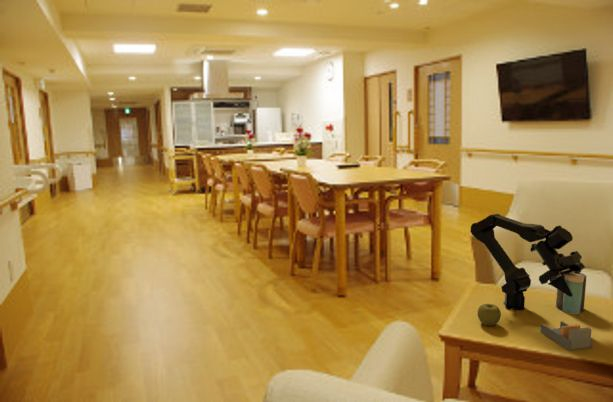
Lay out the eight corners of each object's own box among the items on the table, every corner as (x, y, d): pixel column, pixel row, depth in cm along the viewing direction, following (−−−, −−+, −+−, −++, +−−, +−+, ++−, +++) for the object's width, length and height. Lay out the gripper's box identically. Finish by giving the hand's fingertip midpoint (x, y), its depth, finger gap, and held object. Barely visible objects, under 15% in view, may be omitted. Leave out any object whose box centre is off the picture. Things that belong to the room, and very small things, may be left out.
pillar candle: (581, 314, 184) (585, 276, 181) (553, 309, 190) (556, 272, 187) (585, 306, 191) (588, 270, 189) (558, 301, 197) (561, 265, 195)
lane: (540, 331, 171) (541, 314, 170) (561, 329, 173) (563, 311, 171) (568, 350, 157) (570, 331, 156) (592, 347, 159) (593, 329, 158)
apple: (497, 330, 173) (498, 311, 172) (474, 325, 177) (475, 307, 176) (502, 322, 179) (503, 304, 178) (479, 318, 183) (480, 300, 182)
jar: (563, 313, 170) (566, 277, 167) (561, 306, 175) (564, 272, 173) (581, 315, 168) (585, 279, 165) (579, 308, 173) (582, 274, 171)
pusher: (560, 340, 163) (561, 326, 162) (576, 338, 164) (578, 324, 163) (562, 341, 162) (563, 327, 161) (579, 339, 163) (580, 325, 162)
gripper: (549, 248, 166) (577, 289, 159) (582, 240, 175) (610, 278, 167) (527, 264, 174) (553, 303, 167) (560, 255, 183) (586, 293, 176)
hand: (576, 294), depth 169 cm, fingers closed on jar, 5 cm apart
